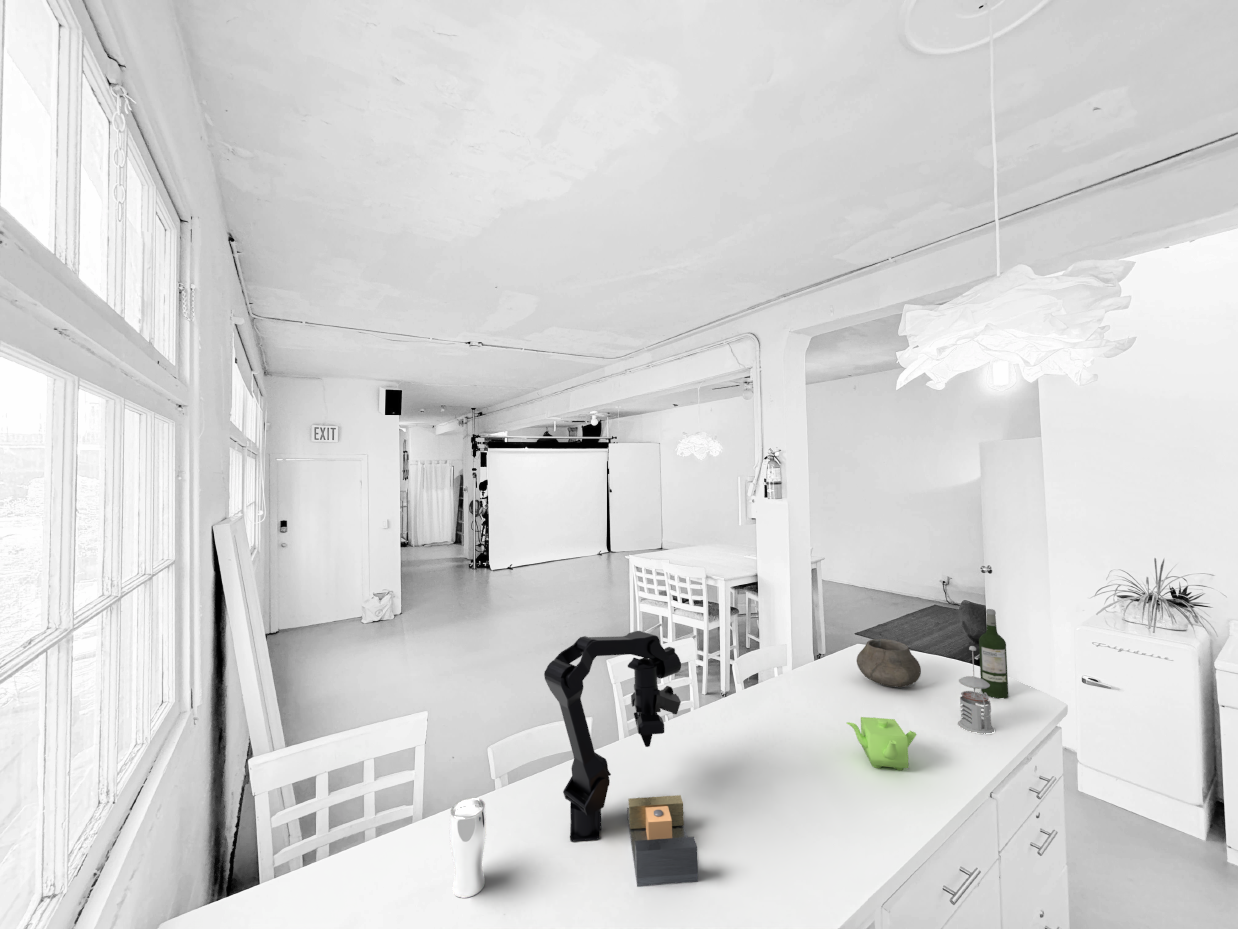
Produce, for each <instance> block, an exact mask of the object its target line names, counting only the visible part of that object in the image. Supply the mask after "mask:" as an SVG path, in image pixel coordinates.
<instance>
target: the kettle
mask: <svg viewBox="0 0 1238 929" xmlns="http://www.w3.org/2000/svg"><path fill="white" fill-rule="evenodd" d="M846 724H847V725H849V726H850V727H852V729H853V731H854V732H855V735H856V739H857V742H859V744H860V745H861V747H862V749H863V751H864V753H865V755H866V757H867V759H868V761H869V763H870V765H871V766H872V767H873V768H875V769H881V768H882V767H887V768H894V769H895V770H897V771H903V770H904V769H909V767H910V766H909V747H910V745H911V744H912V743H913V740H914V739H915V738H916V736H917V733H916V732H915V731H913V730H909V731H908V732H907V733H905V732H904V730H903V728H901V726H900V725H899V723H898V722H897V721H896V720H895V719H894V718H882V717H881V718H880V717H866V716H863V717H862V716H860V729H859V726H858V725H857V724H856V723H854V722H850V721H849V722H846Z"/></svg>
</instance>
